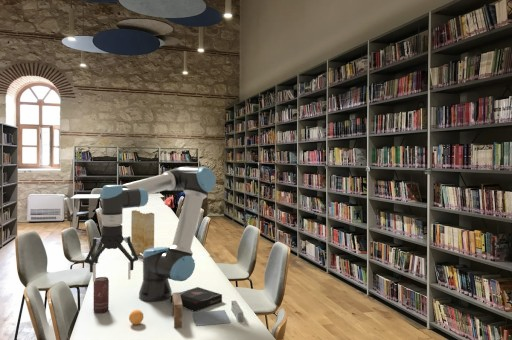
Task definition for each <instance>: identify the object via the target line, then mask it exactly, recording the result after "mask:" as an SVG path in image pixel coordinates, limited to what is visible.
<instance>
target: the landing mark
mask: <svg viewBox="0 0 512 340" xmlns="http://www.w3.org/2000/svg"><path fill="white" fill-rule="evenodd" d="M192 316H194V317H193V319H194V320H193V321H194V324H195V323H196V324H195V327H200V325H202V326H209V325H210V326H212V325H223V324H231V320H230V317H229V316H228V314H227V312H226V309H221V310H210V311H209V310H207V311H196V312H195V311H192ZM198 325H199V326H198Z"/></svg>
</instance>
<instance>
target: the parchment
mask: <svg viewBox="0 0 512 340" xmlns="http://www.w3.org/2000/svg"><path fill="white" fill-rule="evenodd" d="M130 218H131V221H130V223H131V224H130V225H131V227H130V229H131V231H130V232H131V233H130V235H131V236H130V237H131V243H132V245H133V247H134V249H135V252H136V254H137V256H139V255H140V254H141V255H143V253H144V251H145V250H147V249H150V248H155V213H153V212H148V213H142V212H141V210H137V209H136V210H135V209H134V210H131V217H130ZM130 253H131V254H130V255H132V256H133V254H132V252H131V251H130Z"/></svg>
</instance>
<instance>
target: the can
mask: <svg viewBox="0 0 512 340" xmlns="http://www.w3.org/2000/svg"><path fill="white" fill-rule="evenodd" d="M109 281H110V280H109V277H107V276H99V277H96V280H95V281H94V282H93V312H94V313H95V314H104V313H107V312H108V311H109V305H110V304H109V302H110V301H109V298H110V297H109V295H110V294H109V293H110V292H109V289H110V288H109V287H110V285H109V283H110V282H109Z"/></svg>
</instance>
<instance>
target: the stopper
mask: <svg viewBox="0 0 512 340" xmlns="http://www.w3.org/2000/svg"><path fill="white" fill-rule="evenodd" d="M231 311H232V314H233V316H234V317H235V319H236V321H237V323H243V322H244V312H243V310H242V308H241V306H240V305H239V303H238V301H237V300H231Z"/></svg>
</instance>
